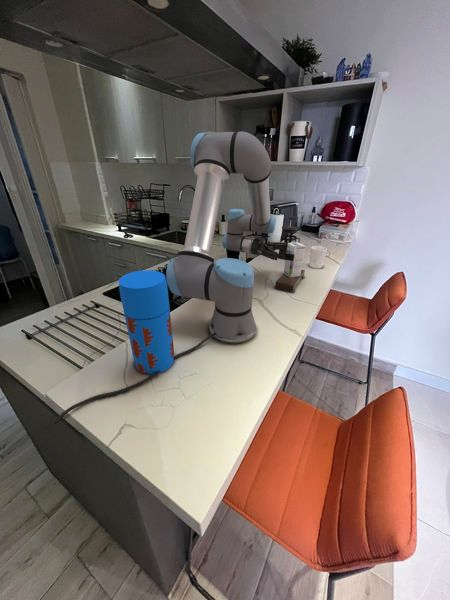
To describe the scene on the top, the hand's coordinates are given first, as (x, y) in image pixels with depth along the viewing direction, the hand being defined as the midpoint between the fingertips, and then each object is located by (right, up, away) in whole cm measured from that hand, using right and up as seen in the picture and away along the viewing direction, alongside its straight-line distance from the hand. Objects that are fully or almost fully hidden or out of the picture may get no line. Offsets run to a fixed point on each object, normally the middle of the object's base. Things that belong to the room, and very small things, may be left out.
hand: (297, 253), depth 112 cm
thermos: (-52, -38, -41) cm, 76 cm away
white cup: (+17, -2, +26) cm, 31 cm away
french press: (+5, +5, +39) cm, 39 cm away
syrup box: (-1, -9, +6) cm, 11 cm away
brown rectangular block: (-2, -12, +7) cm, 14 cm away
